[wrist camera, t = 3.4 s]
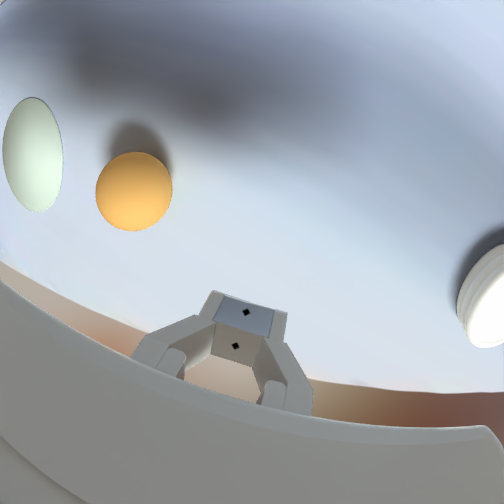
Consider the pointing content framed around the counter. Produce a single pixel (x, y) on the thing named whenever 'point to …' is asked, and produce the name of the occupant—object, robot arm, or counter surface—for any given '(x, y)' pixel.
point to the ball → (133, 191)
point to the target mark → (33, 155)
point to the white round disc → (484, 300)
